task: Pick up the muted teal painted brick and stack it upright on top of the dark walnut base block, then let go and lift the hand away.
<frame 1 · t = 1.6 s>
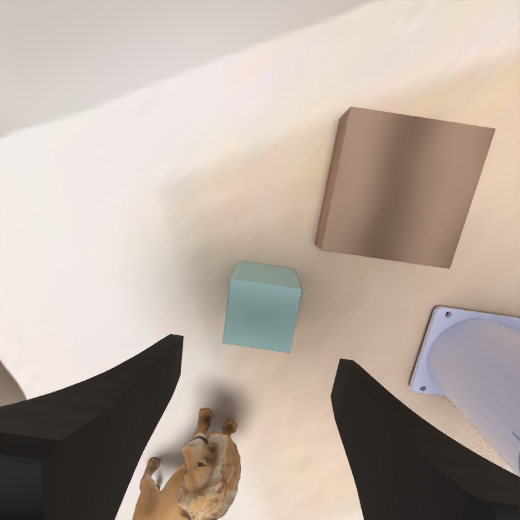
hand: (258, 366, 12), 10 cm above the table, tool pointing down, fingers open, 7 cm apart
walnut base block: (386, 193, 19), on the table
teal brick: (262, 290, 21), on the table
lion figurine: (196, 431, 25), on the table
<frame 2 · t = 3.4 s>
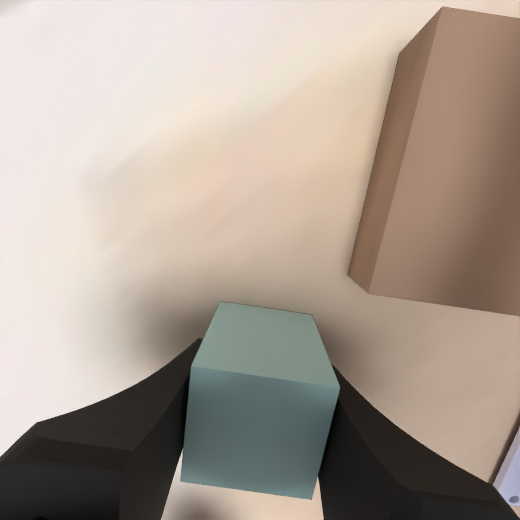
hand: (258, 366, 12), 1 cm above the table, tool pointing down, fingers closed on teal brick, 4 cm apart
walnut base block: (475, 189, 11), on the table
teal brick: (259, 348, 13), on the table, touching gripper
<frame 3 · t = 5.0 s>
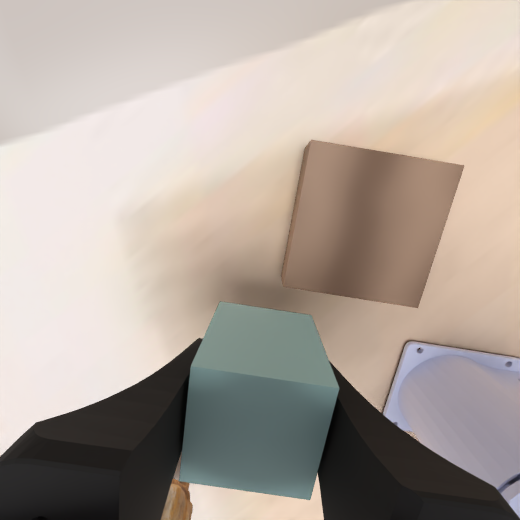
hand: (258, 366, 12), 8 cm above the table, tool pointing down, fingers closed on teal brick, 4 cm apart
walnut base block: (354, 225, 18), on the table
teal brick: (258, 349, 13), point 7 cm above the table, touching gripper
lion figurine: (156, 469, 24), on the table
when the fingers open (5 cm above the table, at t = 6.9 s): teal brick drops 1 cm, resting on walnut base block.
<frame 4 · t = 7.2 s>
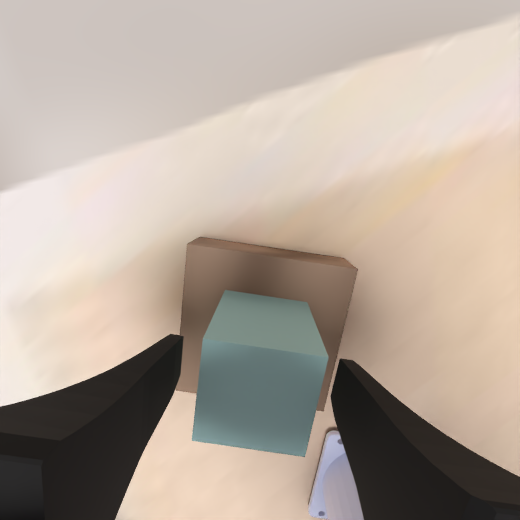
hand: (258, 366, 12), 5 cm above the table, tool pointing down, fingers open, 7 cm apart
walnut base block: (261, 314, 17), on the table
teal brick: (260, 333, 15), point 2 cm above the table, touching walnut base block
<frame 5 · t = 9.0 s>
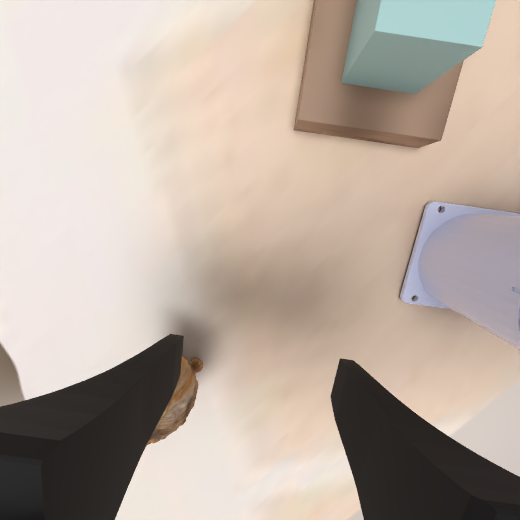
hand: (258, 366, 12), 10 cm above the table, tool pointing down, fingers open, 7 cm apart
walnut base block: (371, 67, 17), on the table
teal brick: (387, 45, 15), point 2 cm above the table, touching walnut base block
lion figurine: (161, 372, 24), on the table
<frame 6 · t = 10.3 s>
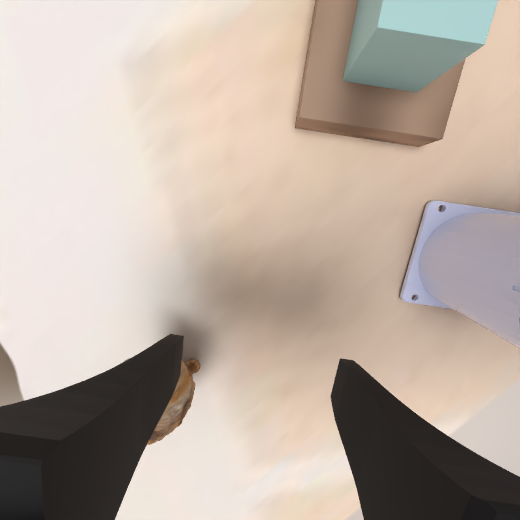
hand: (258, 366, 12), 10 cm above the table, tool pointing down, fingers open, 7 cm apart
walnut base block: (372, 65, 17), on the table
teal brick: (389, 43, 15), point 2 cm above the table, touching walnut base block
lion figurine: (158, 373, 24), on the table
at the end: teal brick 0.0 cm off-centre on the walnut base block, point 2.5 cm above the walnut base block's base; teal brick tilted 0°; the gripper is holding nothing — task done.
